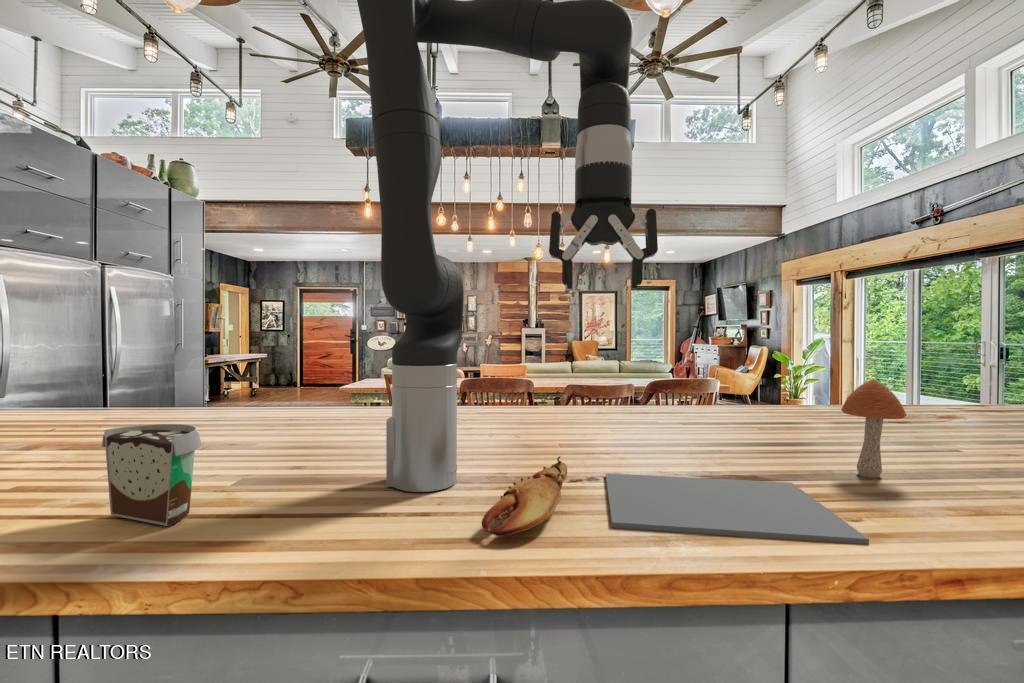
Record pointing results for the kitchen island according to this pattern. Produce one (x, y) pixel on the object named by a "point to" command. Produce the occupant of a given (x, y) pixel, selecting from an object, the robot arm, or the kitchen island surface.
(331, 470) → the kitchen island surface
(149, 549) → the kitchen island surface
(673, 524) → the mat
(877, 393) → the mushroom
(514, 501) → the crab claw
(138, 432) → the food container
